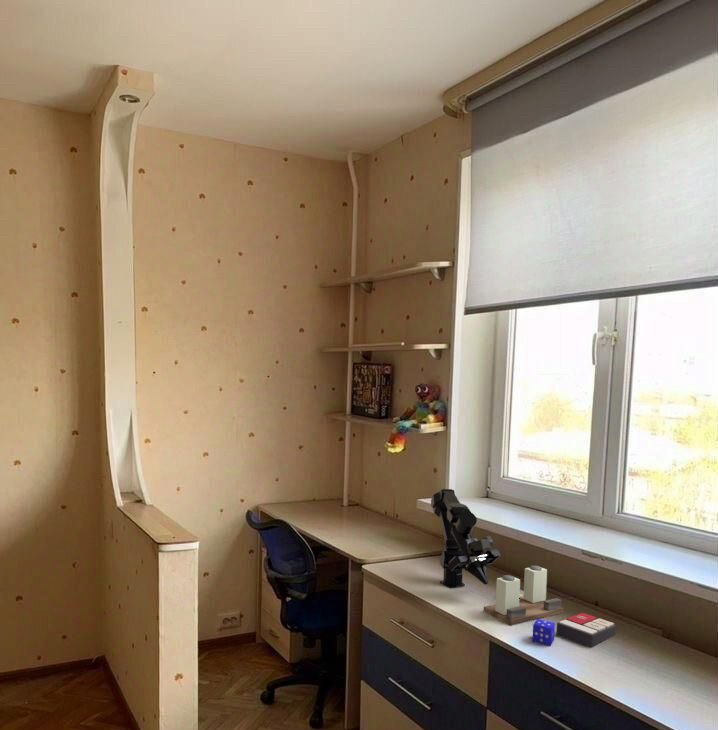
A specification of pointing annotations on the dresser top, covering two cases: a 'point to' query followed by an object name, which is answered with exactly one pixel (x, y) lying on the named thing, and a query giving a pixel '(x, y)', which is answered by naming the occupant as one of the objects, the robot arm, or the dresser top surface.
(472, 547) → the robot arm
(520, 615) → the wooden base plate
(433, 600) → the dresser top surface
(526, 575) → the button
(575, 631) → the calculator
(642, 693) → the dresser top surface
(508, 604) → the button
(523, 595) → the card
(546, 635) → the die
